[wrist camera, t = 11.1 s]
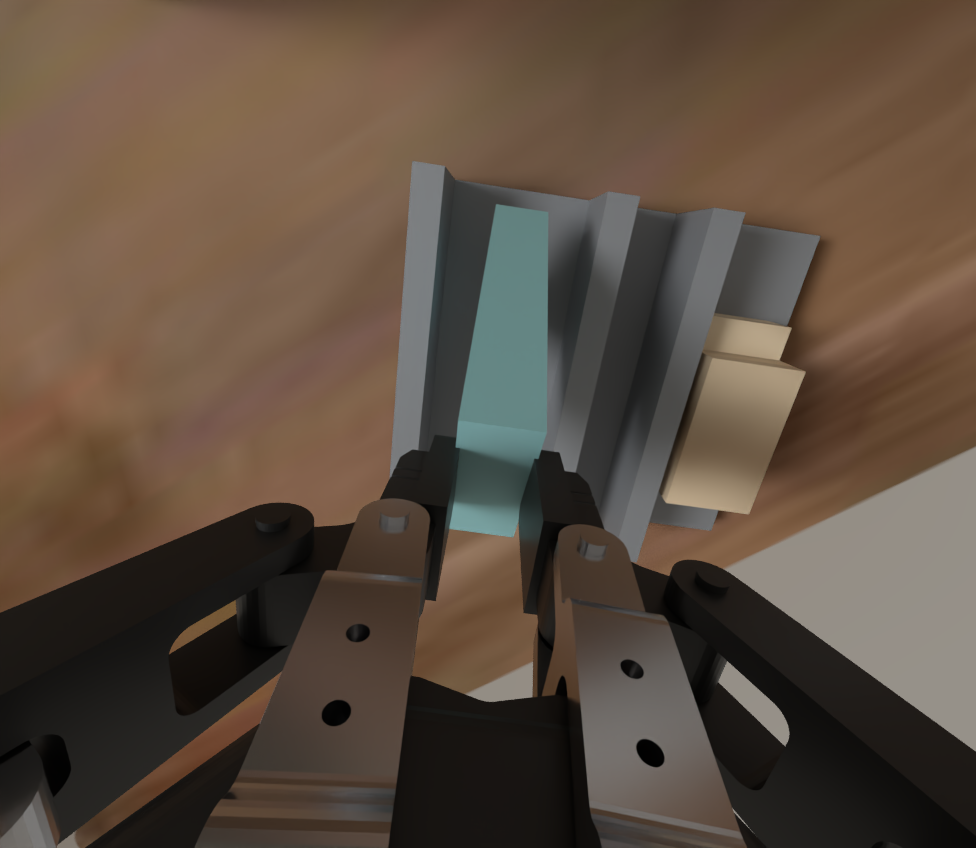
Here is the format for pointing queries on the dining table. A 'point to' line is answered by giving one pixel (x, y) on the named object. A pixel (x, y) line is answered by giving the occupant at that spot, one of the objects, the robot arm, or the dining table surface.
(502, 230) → the teal slat
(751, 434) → the offcut top
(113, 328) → the dining table surface
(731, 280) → the rack
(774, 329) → the block
